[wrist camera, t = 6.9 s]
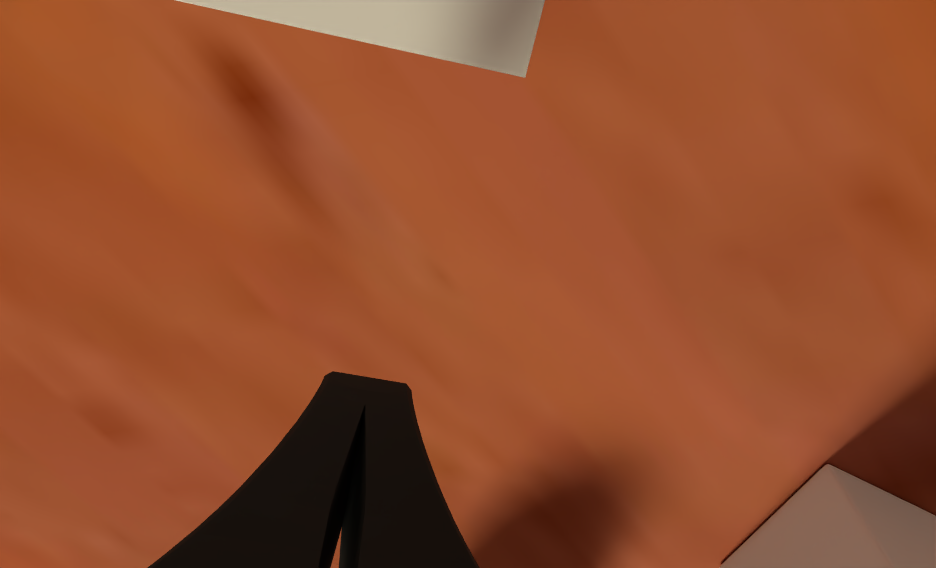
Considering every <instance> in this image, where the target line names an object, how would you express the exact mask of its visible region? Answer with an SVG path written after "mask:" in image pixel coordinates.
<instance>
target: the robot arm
mask: <svg viewBox="0 0 936 568" xmlns="http://www.w3.org/2000/svg"><path fill="white" fill-rule="evenodd" d="M341 528H342V532H341V545H340V559H339V568H479V566H478V564H477V563H476V561H475V559H474V557H473V556H472V554H471V552H470V550H469V548H468V547H467V545H466V543H465V541H464V539H463V537H462V535H461V533H460V531H459V529H458V527H457V525H456V523H455V521H454V519H453V517H452V514H451V512H450V510H449V508H448V506H447V503H446V501H445V499H444V497H443V494H442V492H441V489H440V487H439V485H438V482H437V480H436V477H435V474H434V471H433V469H432V466H431V463H430V461H429V458H428V455H427V452H426V449H425V446H424V443H423V440H422V437H421V433H420V430H419V426H418V423H417V419H416V415H415V410H414V405H413V400H412V392H411V389H410V388H409V387H408V385H407V384H406V383H400V382H394V381H388V380H382V379H376V378H370V377H364V376H358V375H352V374H346V373H340V372H334V371H332V372H331V373H329V374H327V375H325V376H324V379H323V381H322V383H321V385H320V387H319V389H318V390H317V392H316V394H315V395H314V397H313V399H312V400H311V402H310V403H309V405H308V406H307V408H306V409H305V410H304V412H303V413H302V415H301V416H300V418H299V419H298V420H297V422H296V423H295V424H294V426H293V427H292V428H291V429H290V431H289V432H288V433H287V434H286V436H285V437H284V438H283V439H282V441H281V442H280V443H279V444H278V446H277V447H276V448H275V449H274V451H273V452H272V453H271V454H270V455H269V456H268V457H267V458H266V460H265V461H264V462H263V463H262V464H261V465H260V466H259V467H258V468H257V469H256V470H255V472H254V473H253V474H252V475H251V476H250V477H249V478H248V479H247V480H246V481H245V482H244V484H243V485H242V486H241V487H240V488H239V489H238V490H237V491H236V492H235V493H234V494H233V495H232V496H231V497H230V498H229V499H228V500H227V501H226V502H224V503H223V504H222V505H221V506H220V507H219V508H218V509H217V510H216V511H215V512H214V513H213V514H212V515H210V516H209V517H208V518H207V519H206V520H205V521H204V522H203V523H202V524H201V525H199V526H198V527H197V528H196V529H195V530H194V531H192V532H191V533H190V534H189V535H188V536H186V537H185V538H184V539H183V540H182V541H180V542H179V543H178V544H177V545H175V546H174V547H173V548H172V549H171V550H169V551H168V552H167V553H166V554H165V555H163V556H162V557H161V558H159V559H158V560H157V561H156V562H154V563H153V564H152V565H150V566H149V567H148V568H330V567H331V564H332V560H333V556H334V553H335V549H336V546H337V542H338V539H339V535H340V531H341Z"/></svg>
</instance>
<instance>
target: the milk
mask: <svg viewBox="0 0 936 568" xmlns="http://www.w3.org/2000/svg"><path fill="white" fill-rule="evenodd" d="M720 568H936V516H935V515H933V514H931V513H929V512H927V511H925V510H923V509H921V508H919V507H917V506H915V505H913V504H911V503H908V502H906V501H904V500H902V499H900V498H898V497H896V496H894V495H892V494H890V493H888V492H886V491H884V490H882V489H880V488H877V487H875V486H873V485H871V484H869V483H867V482H865V481H863V480H861V479H859V478H857V477H855V476H853V475H851V474H849V473H846V472H844V471H842V470H840V469H838V468H836V467H834V466H832V465H830V464H826V465H825V466H824V467H822V468H821V469H820V470H819V471H818V472H817V473H816V474H815V475H814V476H813V477H812V478H811V479H810V480H809V481H808V482H807V483H806V484H805V485H804V486H803V487H802V488H801V489H800V490H798V491H797V492H796V493H795V494H794V495H793V496H792V497H791V498H790V499H789V500H788V501H787V502H786V503H785V504H784V505H783V506H782V507H781V508H780V509H779V510H778V511H777V512H776V513H775V514H774V515H772V516H771V517H770V518H769V519H768V520H767V521H766V522H765V523H764V524H763V525H762V526H761V527H760V528H759V529H758V530H757V531H756V532H755V533H754V534H753V535H752V536H751V537H750V538H749V539H748V540H746V541H745V542H744V543H743V544H742V545H741V546H740V547H739V548H738V549H737V550H736V551H735V552H734V553H733V554H732V555H731V556H730V557H729V558H728V559H727V560H726V561H725V562H724V563H723V564H722V565H721V566H720Z"/></svg>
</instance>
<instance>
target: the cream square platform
mask: <svg viewBox="0 0 936 568" xmlns="http://www.w3.org/2000/svg"><path fill="white" fill-rule="evenodd" d="M177 1H181V2H186V3H190V4H195V5H199V6H204V7H208V8H213V9H217V10H222V11H226V12H231V13H235V14H240V15H244V16H249V17H253V18H258V19H263V20H267V21H272V22H276V23H281V24H285V25H290V26H294V27H299V28H303V29H308V30H312V31H317V32H321V33H326V34H330V35H335V36H339V37H344V38H348V39H353V40H357V41H362V42H366V43H371V44H376V45H380V46H385V47H389V48H394V49H398V50H403V51H407V52H412V53H416V54H421V55H425V56H430V57H434V58H439V59H443V60H448V61H452V62H457V63H461V64H466V65H470V66H475V67H479V68H484V69H489V70H493V71H498V72H502V73H507V74H511V75H516V76H520V77H525V76H526V72H527V68H528V64H529V60H530V56H531V52H532V48H533V45H534V41H535V37H536V33H537V29H538V25H539V21H540V17H541V13H542V9H543V5H544V1H545V0H177Z"/></svg>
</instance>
